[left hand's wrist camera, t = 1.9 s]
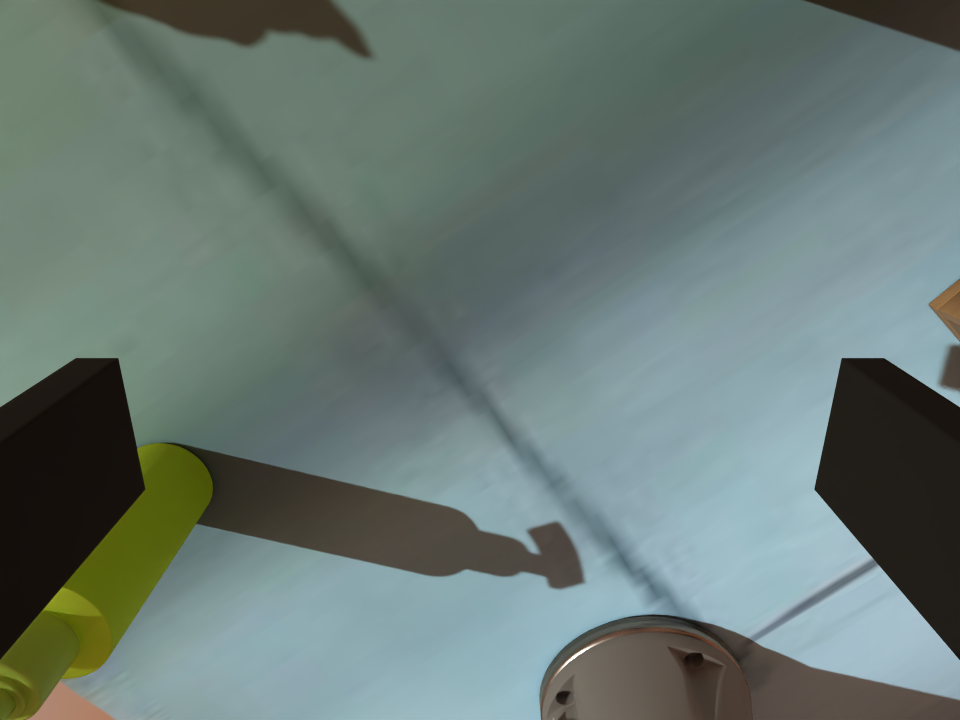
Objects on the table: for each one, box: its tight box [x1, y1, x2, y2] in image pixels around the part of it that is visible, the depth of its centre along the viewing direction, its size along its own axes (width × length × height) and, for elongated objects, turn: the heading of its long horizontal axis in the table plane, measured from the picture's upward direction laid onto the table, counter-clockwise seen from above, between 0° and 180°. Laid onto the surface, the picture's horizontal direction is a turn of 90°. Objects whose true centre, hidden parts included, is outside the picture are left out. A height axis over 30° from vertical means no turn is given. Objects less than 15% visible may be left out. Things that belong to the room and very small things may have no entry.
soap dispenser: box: [0, 443, 213, 720], centre depth 34 cm, size 6×7×20 cm
